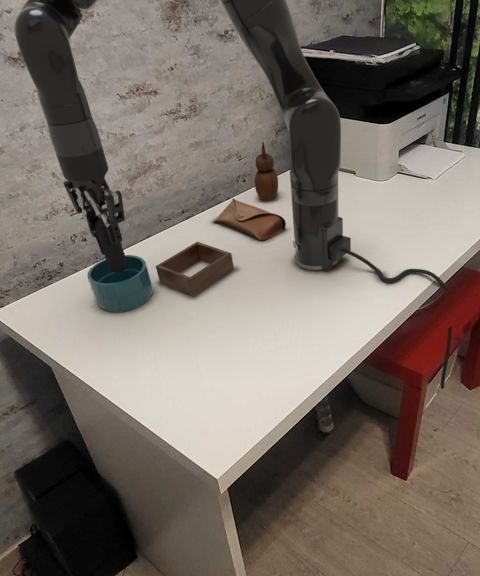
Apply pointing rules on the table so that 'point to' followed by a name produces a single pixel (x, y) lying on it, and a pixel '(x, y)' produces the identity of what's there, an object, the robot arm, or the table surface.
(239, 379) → the table surface
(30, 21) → the robot arm
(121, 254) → the two-way radio
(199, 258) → the wooden frame
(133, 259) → the teal round bowl
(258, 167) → the wooden figurine
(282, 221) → the sunglasses case
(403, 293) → the table surface
